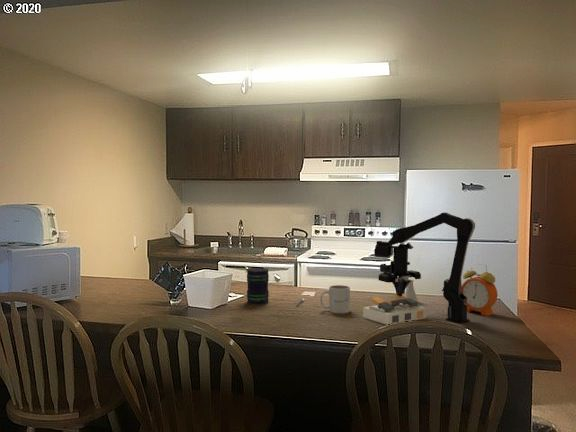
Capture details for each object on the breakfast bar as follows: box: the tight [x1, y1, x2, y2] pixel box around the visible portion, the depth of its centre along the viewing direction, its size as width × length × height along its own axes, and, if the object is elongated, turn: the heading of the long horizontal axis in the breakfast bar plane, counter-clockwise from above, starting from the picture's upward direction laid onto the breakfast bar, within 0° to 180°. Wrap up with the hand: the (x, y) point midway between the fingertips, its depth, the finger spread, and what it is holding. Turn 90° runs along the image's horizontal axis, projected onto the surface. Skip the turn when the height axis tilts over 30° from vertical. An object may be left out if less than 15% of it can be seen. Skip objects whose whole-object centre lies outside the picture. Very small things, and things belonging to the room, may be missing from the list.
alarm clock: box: [462, 263, 499, 317], centre depth 195 cm, size 13×6×20 cm, turn 40°
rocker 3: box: [394, 294, 419, 306], centre depth 190 cm, size 9×4×2 cm, turn 32°
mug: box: [319, 284, 351, 314], centre depth 199 cm, size 12×9×10 cm
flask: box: [403, 278, 419, 303], centre depth 216 cm, size 7×7×10 cm
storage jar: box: [246, 267, 270, 306], centre depth 214 cm, size 10×10×15 cm
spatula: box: [295, 291, 316, 308], centre depth 220 cm, size 6×29×2 cm, turn 166°
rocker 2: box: [384, 299, 406, 307], centre depth 186 cm, size 9×4×2 cm, turn 32°
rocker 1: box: [370, 296, 394, 312], centre depth 183 cm, size 9×4×2 cm, turn 32°
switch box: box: [362, 303, 427, 326], centre depth 186 cm, size 14×20×5 cm
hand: (399, 297), depth 193 cm, fingers closed, pressing on rocker 3
